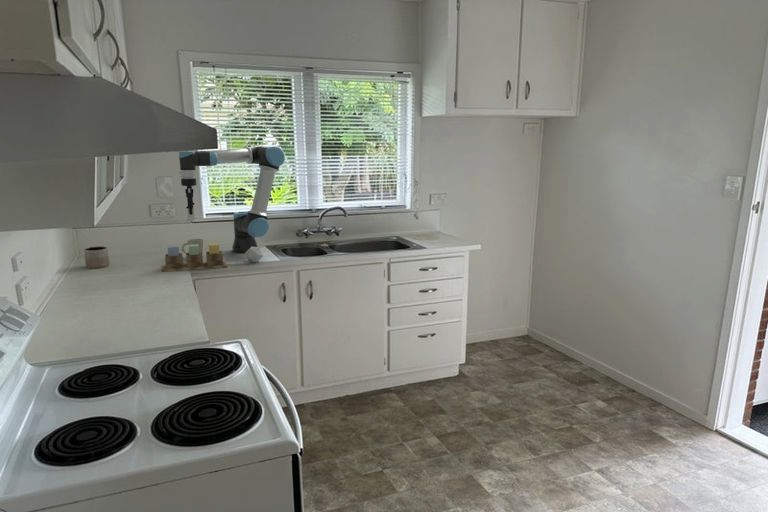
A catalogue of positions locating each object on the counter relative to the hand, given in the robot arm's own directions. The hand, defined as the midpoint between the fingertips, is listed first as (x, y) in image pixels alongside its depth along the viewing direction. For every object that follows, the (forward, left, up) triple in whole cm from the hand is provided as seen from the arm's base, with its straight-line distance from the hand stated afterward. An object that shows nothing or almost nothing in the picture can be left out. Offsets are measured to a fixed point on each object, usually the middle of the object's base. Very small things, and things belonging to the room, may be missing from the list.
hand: (191, 218), depth 272 cm
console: (0, +8, -24) cm, 26 cm away
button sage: (0, +8, -20) cm, 21 cm away
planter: (+48, -8, -25) cm, 54 cm away
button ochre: (-10, +8, -20) cm, 24 cm away
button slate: (+10, +8, -20) cm, 24 cm away
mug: (+1, -15, -25) cm, 29 cm away
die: (-31, +5, -25) cm, 40 cm away
